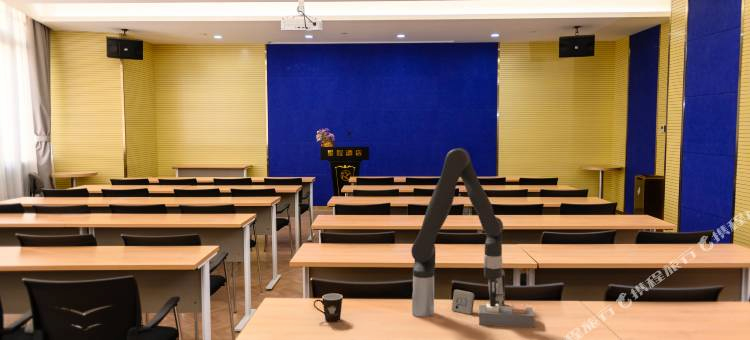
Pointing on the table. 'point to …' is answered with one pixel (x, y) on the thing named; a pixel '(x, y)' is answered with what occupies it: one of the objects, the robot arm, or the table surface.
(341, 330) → the table surface
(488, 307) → the key white
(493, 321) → the grey long rectangular block
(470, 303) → the electrical switch
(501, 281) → the coffee box
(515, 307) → the key terracotta
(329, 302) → the coffee mug
